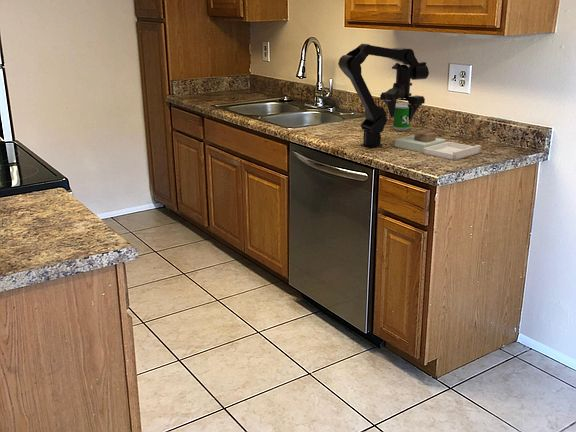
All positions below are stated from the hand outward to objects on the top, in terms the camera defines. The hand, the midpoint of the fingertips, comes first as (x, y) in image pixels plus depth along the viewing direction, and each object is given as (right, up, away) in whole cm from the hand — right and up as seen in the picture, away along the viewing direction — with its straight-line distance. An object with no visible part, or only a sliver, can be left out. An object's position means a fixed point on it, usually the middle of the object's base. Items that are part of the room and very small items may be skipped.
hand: (400, 119), depth 250 cm
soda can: (+5, -1, +28) cm, 28 cm away
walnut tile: (+8, -9, -7) cm, 14 cm away
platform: (+7, -12, -4) cm, 14 cm away
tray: (+17, -15, -15) cm, 27 cm away
